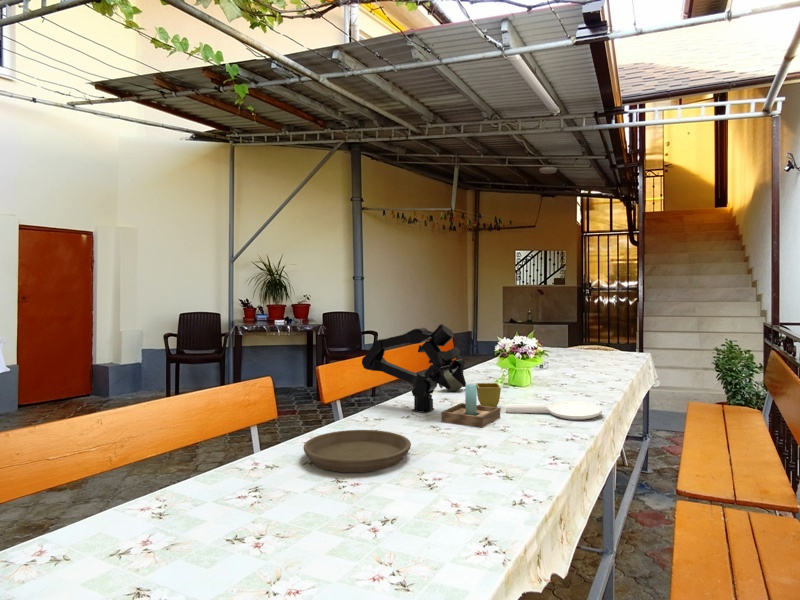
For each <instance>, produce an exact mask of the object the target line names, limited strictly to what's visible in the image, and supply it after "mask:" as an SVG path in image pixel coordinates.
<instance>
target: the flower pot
mask: <svg viewBox="0 0 800 600" xmlns="http://www.w3.org/2000/svg"><path fill="white" fill-rule="evenodd" d="M475 385H476V394H477V399H478V402H479V404H480V406H488V407H496V408H498V407H497V406H498V405H499V402H500V398H501V389H502V387H501V385H500V384H499V383H496V382H492V383H491V382H477V383H476V384H475Z"/></svg>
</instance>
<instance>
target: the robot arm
mask: <svg viewBox="0 0 800 600" xmlns="http://www.w3.org/2000/svg"><path fill="white" fill-rule="evenodd" d="M454 337H455V334H454V332H453V331H452V330H451V329H450V328H448V327H447V326H445V325H444V324H443V323H441V324H439V325H438V326H437V328H436V329H435V330H434V331H431V330H428V329H427V328H426V327H418V328H414V329H411V330H409V331H407V332H405V333H404V334H400V335H395V336H391V337H387V338H381V339H376V340H375V341H374V342H373V344H372V346H371V347H370V349H369V350H368V351H367V352H366V354H365V356H363V358H362V359H361V364H362V367H363V368H364V369H365V370H368V371H373V372H382V373H384V374H387V375H390V376H392V377H394V378H397V379H399V380H401V381H404V382H407V383H409V384H411V385H412V386H413V389H412V390H411V393H412V396H413V397H414V399H413V400H414V403H413V404H414V405H413V406H414V408H413V409H412V410H411V411H413V412H419V413H426V414H427V413H428V412H430V411H433V410H435V408H434V399H433V393H434V391H435V389H436V388H437V387H438V385H439V384H440V385H442V386H443V388H445V389H446V388H447V389H450V388H451V387H450V385H449V383H448V381H447V380H446V378H445V376H444V373H445V372H446V371H449V372H450V373H451V374H452V376H453V377H454V378H455V379H456V380H458V381H459V382H460V383H461V384H462V385H464V386H465V385H467V382H466V378H465V375H464V372H463V371H464V368H465V367H466V366H465V365H466V364H467V363H466V362H465V361H464V359H462V358H460V355H461V350H460V348H458V347H453V348H451V349H449V350H446V351H445V350H442V349H441V348H440V347H445V346H446V345H447V343H449V342H450V341H451V340H452V339H453V338H454ZM421 343H423V344H422V345H421ZM405 344H420V345H418V348H417V353H425V355H426V356H427V358H428V363H429V366H428V367H427V369H426V370H422V371H419V372H413V371H411V370H409V369H406V368H403V367H401V366H398V365H396V364H394V363H391V362H388V361H387V360H386V358H384V356H385V352H386V349H387V348H391V347H395V346H398V345H405ZM456 358H460V359H456ZM454 359H456V360H454ZM447 389H446V390H447Z"/></svg>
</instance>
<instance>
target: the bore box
mask: <svg viewBox="0 0 800 600" xmlns="http://www.w3.org/2000/svg"><path fill="white" fill-rule="evenodd" d="M440 414H441V416H440V418H441V419H440V421H441V423H442V422H443V423H450V424H456V425H460V426H461V425H462V426H469V427H475V428H476V427H477V428H484V427H486V426H488V425H489V424H491V423H493V422H495V421H497V420H499V419H500V418H501V407H488V406H481V405H478V404H477V416H473V415H466V407H465V402H464V403H463V402H460V403H459V404H456V405H454V406H452V407H449V408H447V409H444V410H443V411H440Z"/></svg>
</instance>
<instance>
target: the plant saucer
mask: <svg viewBox="0 0 800 600" xmlns="http://www.w3.org/2000/svg"><path fill="white" fill-rule="evenodd" d="M411 446H412V443H411V440H410V439H408V437H406V436H404V435H402V434H399V433H397V432H396V433H395V432H391V431H386V430H378V429H377V430H376V429H348V430H347V429H346V430H339V431H333V432H331V431H330V432H327V433H324V434H323V433H322V434H319V435H317V436H314V437H311V438H310V439H309V440H307V441H306V442H305V443H304V445H303V452H304V453H305V455H306V457H307V458H308V459H310V460H311V463H313V465H315V466H317V467H318V468H321V469H323V470H327V471H331V472H338V473H369V472H375V471H381V470H385V469H389V468H390V467H394V466H396V465H398V464H399V463H400V462H401V461H402V460H403V458H404V457H405V456H406V455H407V454H408V453H409V451H410V449H411Z"/></svg>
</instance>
